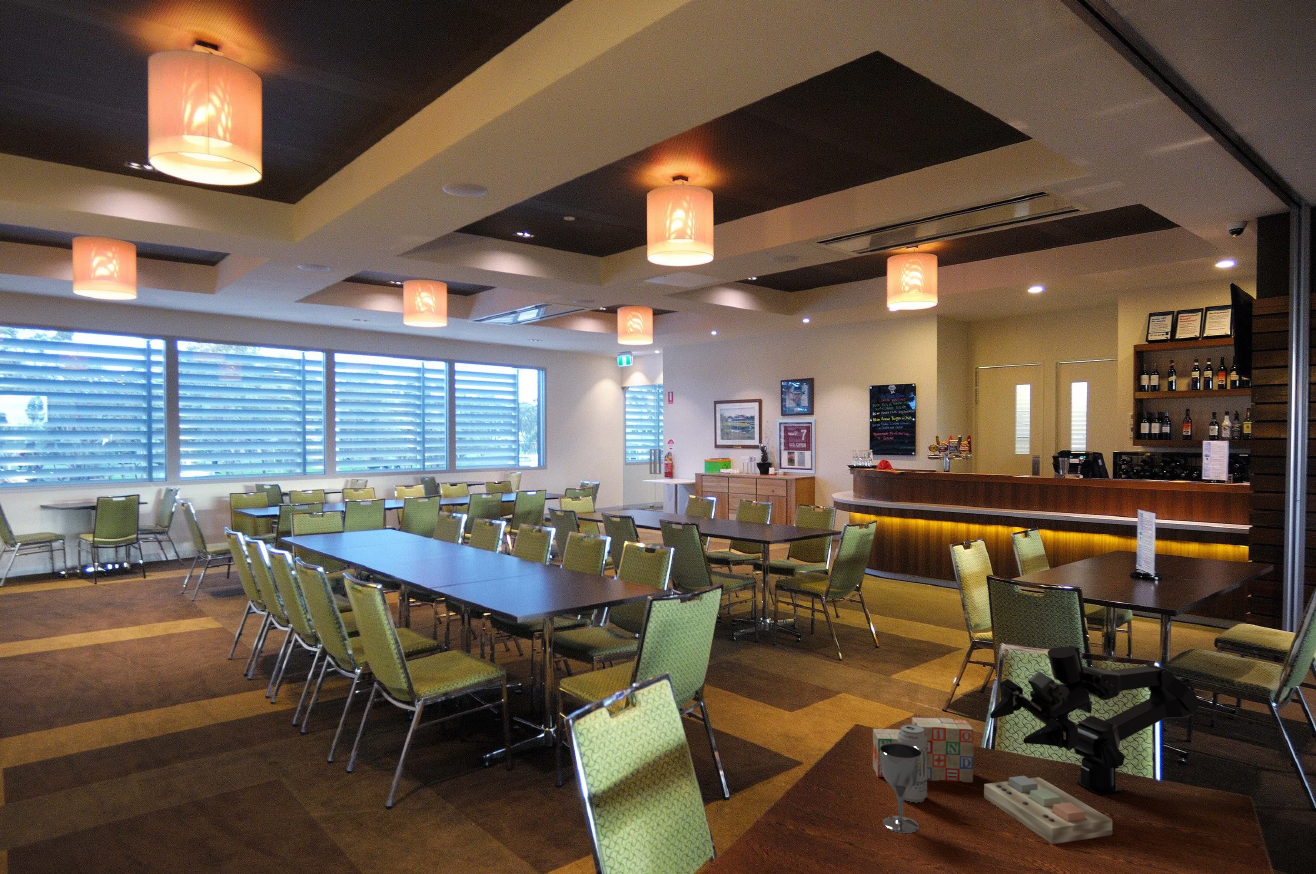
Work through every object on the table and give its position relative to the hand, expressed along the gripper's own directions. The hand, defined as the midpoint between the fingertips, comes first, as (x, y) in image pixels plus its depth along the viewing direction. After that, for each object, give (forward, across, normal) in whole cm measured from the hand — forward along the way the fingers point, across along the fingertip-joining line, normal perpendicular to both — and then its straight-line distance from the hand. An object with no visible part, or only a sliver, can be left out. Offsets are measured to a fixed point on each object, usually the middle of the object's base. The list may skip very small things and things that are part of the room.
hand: (1007, 728), depth 167 cm
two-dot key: (+1, +16, +10) cm, 19 cm away
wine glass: (+30, +2, +8) cm, 32 cm away
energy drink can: (+21, -6, +13) cm, 25 cm away
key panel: (+1, +10, +14) cm, 18 cm away
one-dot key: (0, +10, +12) cm, 15 cm away
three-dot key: (0, +4, +14) cm, 14 cm away
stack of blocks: (+12, -14, +18) cm, 26 cm away
